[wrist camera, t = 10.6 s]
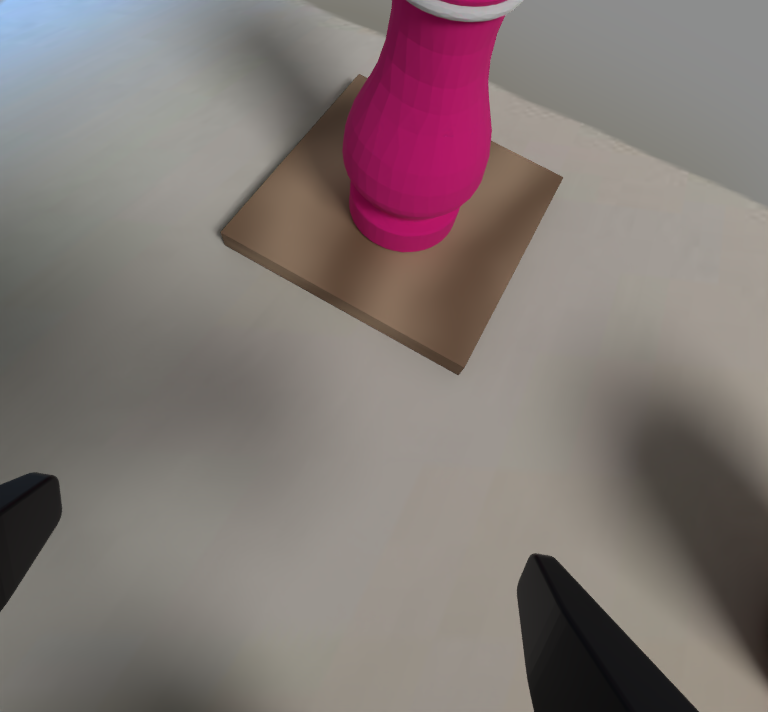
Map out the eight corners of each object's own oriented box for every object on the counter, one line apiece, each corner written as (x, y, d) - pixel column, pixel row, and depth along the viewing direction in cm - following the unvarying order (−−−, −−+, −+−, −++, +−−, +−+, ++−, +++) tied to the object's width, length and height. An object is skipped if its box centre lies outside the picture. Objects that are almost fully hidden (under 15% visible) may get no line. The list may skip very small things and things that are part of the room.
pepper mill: (421, 284, 25) (675, -402, 7) (314, 215, 26) (280, -563, 8) (484, 201, 28) (794, -462, 9) (385, 141, 29) (490, -578, 10)
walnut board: (554, 190, 30) (563, 177, 29) (458, 375, 25) (464, 367, 24) (358, 90, 32) (359, 73, 30) (224, 245, 26) (220, 232, 25)
